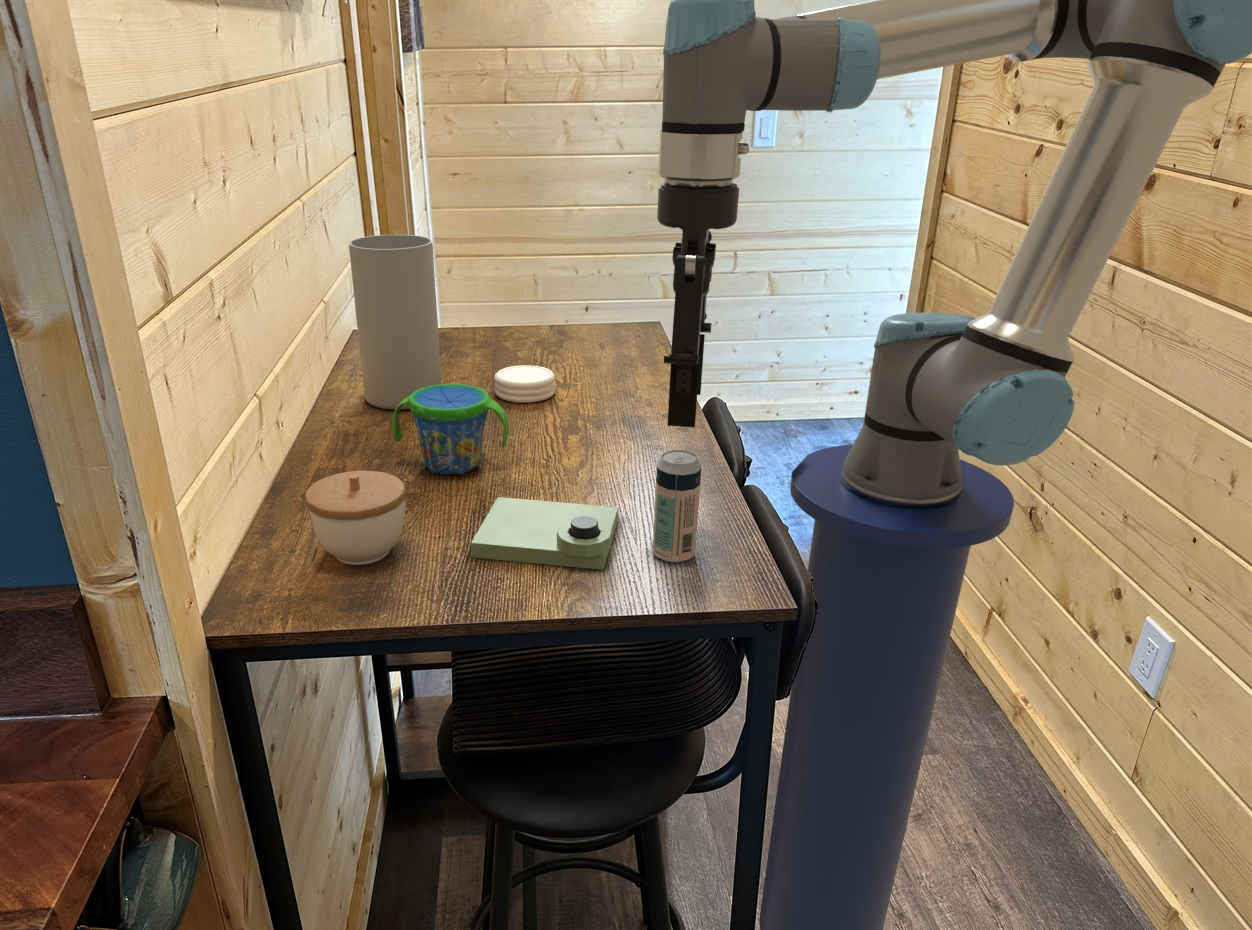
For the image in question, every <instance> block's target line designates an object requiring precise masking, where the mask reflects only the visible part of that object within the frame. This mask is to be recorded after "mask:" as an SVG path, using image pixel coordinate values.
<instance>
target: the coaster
mask: <svg viewBox="0 0 1252 930" xmlns="http://www.w3.org/2000/svg"><path fill="white" fill-rule="evenodd" d="M555 379H556V374H555V372H553V371H552V370H551V369H549V368H547V367H544V366H539V365H530V364H526V365H525V364H523V365H511V366H507V367H503V368H501V369H500V370H498V371H496V372H495V374H494V393H495V395H496V396H497V397H498V398H499V399H501V400H503V401H507V402H510V403H517V404H518V403H519V404H527V403H528V404H529V403H538V402H543V401H545V400H548V399H550V398H552V397H553V396H554V395H555V393H556V388H555V386H556V381H555Z"/></svg>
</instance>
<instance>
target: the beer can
mask: <svg viewBox="0 0 1252 930" xmlns="http://www.w3.org/2000/svg"><path fill="white" fill-rule="evenodd" d="M701 478H702V464H701V462H700V459H699V458H698V455H697V454H696V453H695V452H691V451H689V450H683V449H682V450H681V449H673V450H667V451H664V453H662V454H661V455H660V457H659V459H658V461H657V463H656V477H655V479H656V480H655V491H654V492H655V493H654V494H655V495H654V496H655V497H654V515H653V533H652V534H653V536H652V553H653V554H654V556H656V557H657V558H659V559H660V560H662V561H664V562H667V563H682V562H685V561H689V560H690V559H692V557H694V556H695V554H696V546H697V532H698V521H699V519H698V518H699V507H700V506H699V505H700V493H701V492H700V491H701V480H702V479H701Z"/></svg>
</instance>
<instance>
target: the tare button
mask: <svg viewBox="0 0 1252 930" xmlns="http://www.w3.org/2000/svg"><path fill="white" fill-rule="evenodd" d="M571 536H572V537H574V538H576V539H584V540H587V539H593V538H596V537H597V536H598V521H597V520H596V519H595V518H592V517H588V516H581V517H576V518H574V519H573V520H572V521H571Z"/></svg>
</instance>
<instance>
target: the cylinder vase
mask: <svg viewBox="0 0 1252 930" xmlns="http://www.w3.org/2000/svg"><path fill="white" fill-rule="evenodd" d="M348 249H349V251H348V252H349V260H350V270H351V279H352V289H353V297H354V298H353V299H354V309H355V317H356V326H357V327H356V329H357V336H358V347H359V357H360V367H361V376H362V384H363V386H362V388H363V396H364V399H365V401H366V402H367V403H368V404H369V405H371V406H372V407H376V408H378V409H383V410H391V411H393V410H394V411H395V409H396V408H397V406H398V405H399V403H400V402H401V401H402V400H404V399H405V398H406V397H408V396H410V395H411V394H412V393H413V392H414V391H416V390H418V389H421V388H423V387H427V386H432V385H439V384H442V369H441V355H440V340H439V339H440V338H439V324H438V323H439V322H438V307H437V292H436V291H437V290H436V276H435V261H434V244H433V239H432V238H430V237H428V236H423V235H417V234H378V235H377V234H376V235H368V236H362V237H358V238H353V239H351V240H350V241H348ZM405 410H411V409H410V407H409V406H408V405H403V406H402V407H401V409H400V411H405Z"/></svg>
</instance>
